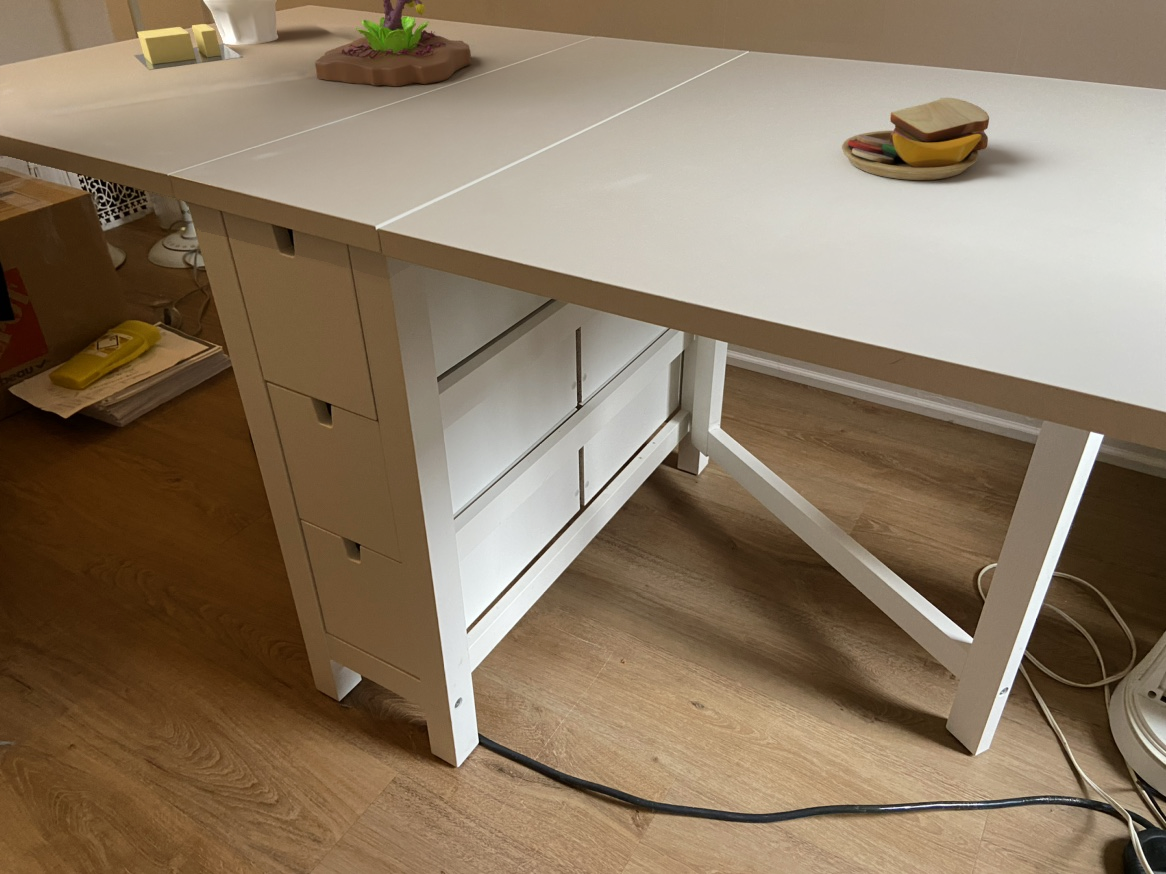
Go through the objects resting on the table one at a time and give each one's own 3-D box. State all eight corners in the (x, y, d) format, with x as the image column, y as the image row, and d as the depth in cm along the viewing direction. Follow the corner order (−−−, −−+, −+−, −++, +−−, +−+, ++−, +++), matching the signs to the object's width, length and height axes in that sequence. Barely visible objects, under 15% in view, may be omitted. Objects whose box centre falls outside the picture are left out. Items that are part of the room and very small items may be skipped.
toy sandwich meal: (823, 146, 89) (829, 97, 87) (951, 139, 90) (961, 91, 88) (867, 187, 79) (875, 133, 76) (1010, 179, 80) (1024, 126, 77)
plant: (366, 51, 133) (353, -32, 126) (486, 56, 128) (480, -30, 122) (296, 83, 117) (278, -10, 111) (431, 89, 113) (420, -7, 106)
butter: (152, 64, 124) (144, 38, 122) (144, 57, 128) (137, 31, 126) (196, 59, 126) (189, 32, 124) (187, 52, 131) (180, 26, 129)
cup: (291, 50, 135) (275, -31, 128) (206, 56, 132) (185, -26, 126) (294, 35, 145) (279, -41, 138) (215, 40, 142) (196, -36, 136)
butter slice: (207, 57, 127) (200, 31, 125) (198, 50, 131) (191, 25, 129) (221, 55, 128) (215, 29, 126) (211, 48, 132) (205, 23, 130)
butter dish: (151, 77, 122) (148, 69, 121) (135, 62, 130) (133, 55, 130) (245, 64, 127) (243, 56, 127) (224, 50, 136) (223, 43, 135)
